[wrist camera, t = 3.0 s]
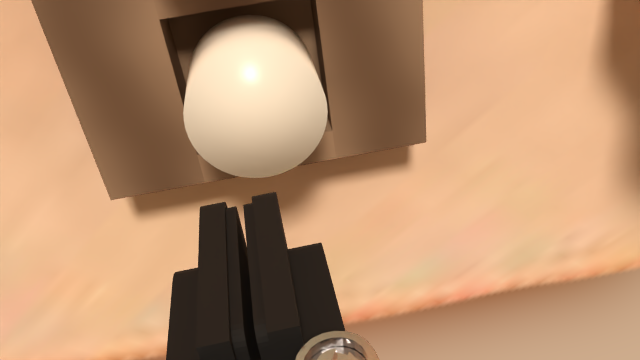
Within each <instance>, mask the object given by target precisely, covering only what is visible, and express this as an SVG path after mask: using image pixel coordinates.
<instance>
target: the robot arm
mask: <svg viewBox="0 0 640 360" xmlns="http://www.w3.org/2000/svg"><path fill="white" fill-rule="evenodd" d="M244 218H245V229H246V241H247V246H246V242H245V238H244V234H243V230H242V226H241V222H240V218H239V214H238V211H237V208H236V207H231V208H227V205H226V203H225V202H222V203H217V204H212V205H207V206H202V207H200V220H199V256H198V268H194V269H189V270H184V271H179V272H175V273H174V276H173V283H172V295H171V307H170V319H169V331H168V343H167V355H166V360H379V358H378V356H377V354H376V352H375V350H374V349H373V347H372V346H371V345H370V343H369V342H368V341H367V340H365V339H364V338H362V337H361V336H359V335H358V334H354V333H351V332H348V331H345V328H344V325H343V321H342V317H341V314H340V310H339V306H338V302H337V299H336V295H335V291H334V287H333V284H332V280H331V276H330V272H329V269H328V265H327V261H326V257H325V254H324V250H323V247H322V244H321V243H317V244H312V245H307V246H302V247H297V248H292V249H288V248H287V243H286V239H285V234H284V229H283V224H282V219H281V214H280V209H279V204H278V199H277V194H276V192H273V193H268V194H263V195H258V196H253V197H252V203H251V204H246V205H244Z"/></svg>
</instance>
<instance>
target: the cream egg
mask: <svg viewBox="0 0 640 360" xmlns="http://www.w3.org/2000/svg"><path fill="white" fill-rule="evenodd" d="M327 114H328V111H327V102H326V97H325V94H324V91H323V88H322V85H321V83H320V80H319V78H318V75H317V72H316V70H315V67H314V64H313V62H312V59H311V56H310V54H309V51H308V49H307V47H306V45H305V44H304V42H303V41H302V39H301V38H300V37H299V36H298V35H297V34H296V33H295V32H294V31H293V30H292V29H291V28H289V27H288V26H287V25H285V24H283V23H282V22H280V21H277V20H275V19H273V18H269V17H266V16H260V15H241V16H236V17H232V18H229V19H226V20H224V21H222V22H220V23H218V24H216V25H215V26H213V27H212V28H211V29H209V30H208V31H207V32H206V33H205V34H204V35H203V36H202V38H201V39H200V40H199V42H198V43H197V45H196V47H195V49H194V51H193V54H192V56H191V60H190V65H189V72H188V79H187V86H186V94H185V101H184V111H183V115H184V124H185V129H186V132H187V135H188V138H189V140H190V141H191V143H192V145H193V147H194V148H195V149H196V151H197V152H198V153H199V154H200V155H201V156H202V157H203V159H205V160H206V161H207V162H208V163H210V164H211V165H212V166H214V167H216V168H217V169H219V170H221V171H223V172H226V173H228V174H231V175H235V176H239V177H246V178H264V177H271V176H275V175H278V174H281V173H284V172H286V171H288V170H290V169H292V168H294V167H296V166H297V165H299V164H300V163H302V162H303V161H304V160H305V159H306V158H308V157H309V155H310V154H311V153H312V152H313V151H314V150H315V148H316V147H317V146H318V144H319V142H320V140H321V138H322V136H323V134H324V131H325V128H326V123H327Z"/></svg>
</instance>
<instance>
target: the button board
mask: <svg viewBox="0 0 640 360" xmlns="http://www.w3.org/2000/svg"><path fill="white" fill-rule="evenodd" d="M31 1H32V4H33V6H34V9H35V11H36V14H37V16H38V19H39V21H40V24H41V26H42V29H43V31H44V34H45V36H46V39H47V41H48V44H49V46H50V49H51V51H52V54H53V56H54V59H55V61H56V64H57V66H58V69H59V71H60V74H61V76H62V79H63V81H64V84H65V86H66V89H67V91H68V94H69V96H70V99H71V101H72V104H73V106H74V109H75V111H76V114H77V116H78V119H79V121H80V124H81V126H82V129H83V131H84V134H85V136H86V139H87V141H88V144H89V146H90V149H91V151H92V154H93V156H94V159H95V162H96V164H97V167H98V169H99V172H100V174H101V177H102V179H103V182H104V184H105V187H106V189H107V192H108V194H109V197H110V199H111V200H114V199H120V198H125V197H131V196H136V195H142V194H147V193H153V192H158V191H163V190H169V189H174V188H180V187H185V186H191V185H196V184H202V183H207V182H212V181H218V180H223V179H229V178H234V177H239V176H235V175H231V174H228V173H226V172H223V171H221V170H219V169H217V168H216V167H214V166H212V165H211V164H210V163H208V162H207V161H206V160H205V159H203V157H202V156H201V155H200V154H199V153H198V152H197V151H196V149H195V148H194V147H193V145H192V143H191V141H190V140H189V138H188V135H187V132H186V129H185V124H184V115H183V111H184V101H185V94H186V86H187V79H188V72H189V65H190V60H191V56H192V54H193V51H194V49H195V47H196V45H197V43H198V42H199V40H200V39H201V38H202V36H203V35H204V34H205V33H206V32H207V31H208V30H209V29H211V28H212V27H213V26H215V25H216V24H218V23H220V22H222V21H224V20H226V19H229V18H232V17H236V16H241V15H260V16H266V17H269V18H273V19H275V20H277V21H280V22H282V23H283V24H285V25H287V26H288V27H289V28H291V29H292V30H293V31H294V32H295V33H296V34H297V35H298V36H299V37H300V38H301V39H302V41H303V42H304V44H305V45H306V47H307V49H308V51H309V54H310V56H311V59H312V62H313V64H314V67H315V70H316V72H317V75H318V78H319V80H320V83H321V85H322V88H323V91H324V94H325V97H326V102H327V111H328V114H327V123H326V128H325V131H324V134H323V136H322V138H321V140H320V142H319V144H318V146H317V147H316V148H315V150H314V151H313V152H312V153H311V154H310V155H309V157H308V158H306V159H305V160H304V161H303V162H302V163H300V164H299V165H297V166H300V165H305V164H310V163H316V162H321V161H327V160H332V159H338V158H343V157H349V156H354V155H359V154H365V153H370V152H376V151H381V150H387V149H392V148H398V147H403V146H408V145H414V144H419V143H425V142H426V113H425V74H424V35H423V0H31Z"/></svg>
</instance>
